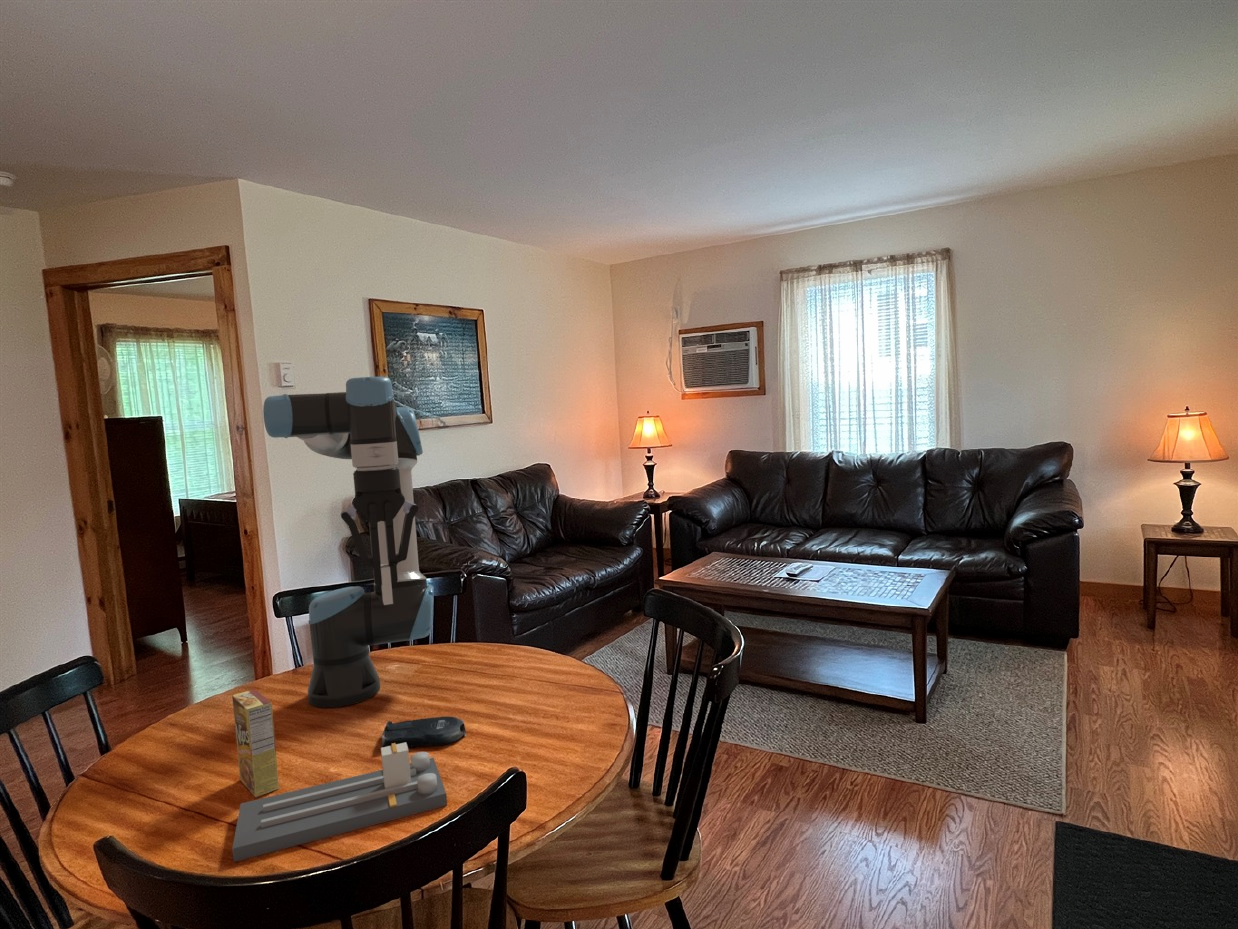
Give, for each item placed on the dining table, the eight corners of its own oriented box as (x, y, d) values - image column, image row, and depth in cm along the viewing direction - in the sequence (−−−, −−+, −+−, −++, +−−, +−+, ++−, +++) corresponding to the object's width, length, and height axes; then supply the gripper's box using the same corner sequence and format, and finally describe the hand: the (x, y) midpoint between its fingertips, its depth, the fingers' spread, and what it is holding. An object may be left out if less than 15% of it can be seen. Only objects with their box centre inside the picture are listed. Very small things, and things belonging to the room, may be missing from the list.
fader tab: (383, 783, 118) (380, 746, 117) (409, 776, 119) (406, 740, 119) (385, 792, 115) (382, 754, 114) (411, 785, 116) (408, 748, 116)
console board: (242, 815, 114) (239, 791, 114) (434, 768, 126) (432, 746, 125) (233, 862, 102) (230, 835, 102) (447, 805, 114) (445, 781, 114)
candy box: (239, 780, 126) (229, 695, 124) (264, 771, 128) (256, 687, 127) (255, 799, 119) (245, 709, 118) (281, 788, 122) (272, 701, 121)
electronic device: (383, 764, 132) (464, 743, 134) (377, 734, 132) (458, 713, 134) (392, 747, 141) (468, 727, 143) (386, 719, 141) (463, 700, 143)
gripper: (336, 472, 117) (349, 614, 119) (418, 465, 122) (429, 601, 124) (334, 469, 124) (347, 603, 126) (412, 463, 129) (423, 592, 131)
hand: (387, 602), depth 125 cm, fingers closed
